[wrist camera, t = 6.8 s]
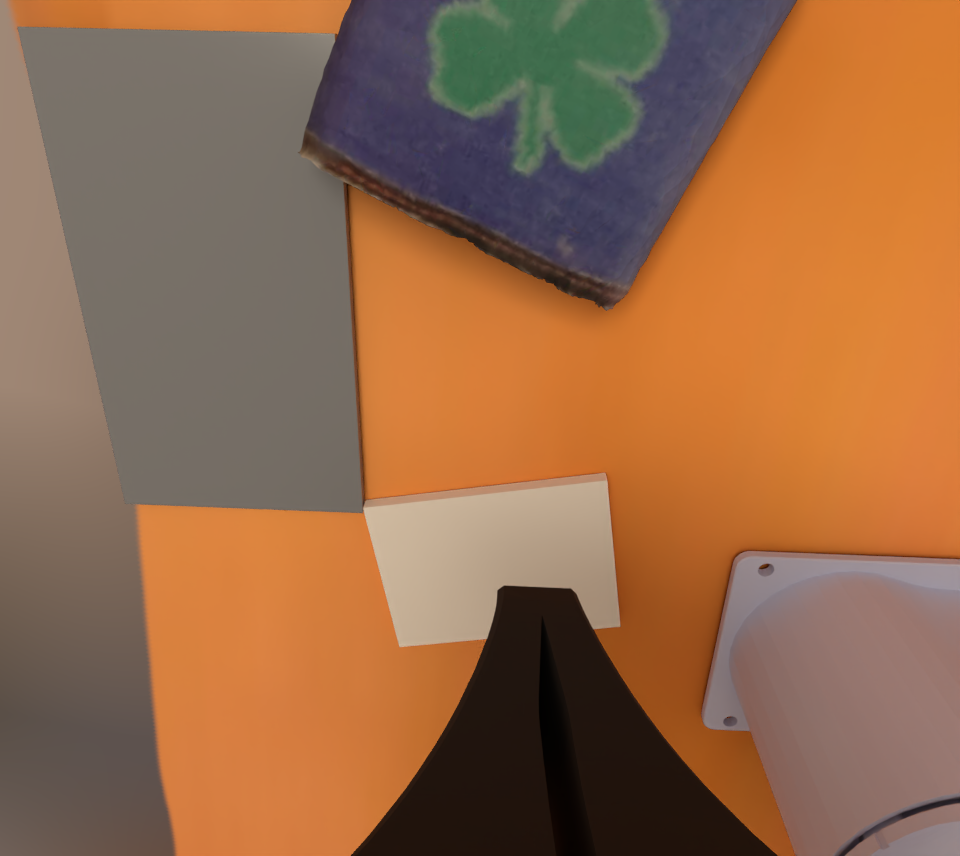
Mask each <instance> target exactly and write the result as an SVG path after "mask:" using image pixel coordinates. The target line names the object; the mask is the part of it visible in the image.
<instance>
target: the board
mask: <svg viewBox="0 0 960 856" xmlns="http://www.w3.org/2000/svg"><path fill="white" fill-rule="evenodd" d="M18 32H19V36H20V40H21V45H22V49H23V54H24V58H25V63H26V67H27V71H28V76H29V80H30V85H31V89H32V94H33V98H34V102H35V107H36V111H37V116H38V120H39V124H40V129H41V133H42V138H43V142H44V147H45V151H46V156H47V160H48V164H49V169H50V173H51V178H52V182H53V186H54V190H55V195H56V200H57V204H58V209H59V213H60V218H61V221H62V226H63V230H64V235H65V240H66V244H67V248H68V252H69V257H70V261H71V266H72V271H73V275H74V279H75V283H76V288H77V293H78V297H79V302H80V306H81V310H82V315H83V319H84V323H85V328H86V333H87V337H88V341H89V346H90V350H91V355H92V359H93V364H94V368H95V372H96V377H97V381H98V385H99V390H100V394H101V399H102V403H103V408H104V412H105V417H106V421H107V425H108V430H109V434H110V439H111V443H112V447H113V452H114V457H115V461H116V465H117V470H118V474H119V479H120V483H121V488H122V492H123V496H124V501H125V504H145V505H171V506H197V507H222V508H248V509H273V510H299V511H325V512H350V513H363V511H364V510H363V507H364V504H365V499H364V481H363V463H362V446H361V428H360V411H359V393H358V375H357V358H356V340H355V323H354V305H353V287H352V270H351V252H350V235H349V217H348V199H347V183H345V182H343V181H342V180H340V179H338V178H336V177H334V176H332V175H330V174H328V173H326V172H324V171H322V170H320V169H319V168H317V167H316V166H315V165H314V164H313V162H312V161H311V160H308V159H307V158H302V157H301V155H300V153H298V152H300V150H301V148H302V143H303V138H304V132H305V128H306V125H307V123H308V121H309V117H310V113H311V109H312V106H313V102H314V99H315V96H316V92H317V89H318V87H319V84H320V82H321V80H322V76H323V71H324V68H325V65H326V63H327V61H328V59H329V56H330V53H331V50H332V47H333V45H334V43H335V41H336V38H337V36H338V34H327V33H281V32H235V31H189V30H143V29H97V28H51V27H18Z"/></svg>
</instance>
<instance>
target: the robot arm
mask: <svg viewBox="0 0 960 856" xmlns="http://www.w3.org/2000/svg"><path fill="white" fill-rule="evenodd" d="M767 563H768V564H770V565H769V566H768V567H767V568H765V569H759V567H760V566H761V565H763V564H767ZM730 716H732V717H730ZM701 717H702V720H703V723H704V725H705V726H706V727H708V728H710V729H715V730H736V731H750V732H751V734H752V737H753V740H754V743H755V745H756V748H757V751H758V754H759V756H760V759H761V762H762V765H763V767H764V770H765V773H766V776H767V778H768V781H769V784H770V786H771V789H772V792H773V795H774V797H775V800H776V803H777V806H778V808H779V811H780V814H781V817H782V819H783V822H784V825H785V828H786V830H787V833H788V836H789V839H790V841H791V844H792V847H793V849H794V852H795V855H796V856H960V559H941V558H916V557H891V556H866V555H841V554H815V553H790V552H765V551H746V552H743V553H741V554H739V555H738V556H737V557H736V558H735V560H734V562H733V566H732V570H731V575H730V580H729V584H728V589H727V594H726V599H725V603H724V608H723V613H722V617H721V622H720V627H719V632H718V636H717V641H716V646H715V651H714V655H713V660H712V665H711V669H710V674H709V679H708V684H707V688H706V693H705V698H704V702H703V707H702V712H701ZM727 717H730V718H727ZM351 856H777V855H776V854H775V853H774V852H773V851H772V850H771V849H770V848H768V847H767V846H766V845H765V844H764V843H763V842H762V841H761V840H759V839H758V838H757V837H756V836H755V835H754V834H753V833H752V832H751V831H750V830H749V829H748V828H747V827H746V826H745V825H744V824H743V823H742V822H741V821H740V820H739V819H738V818H737V817H736V816H735V815H734V814H733V813H732V812H731V811H730V810H729V809H728V808H727V807H726V806H725V805H724V804H723V803H722V802H721V801H720V800H719V799H718V798H717V797H716V796H715V795H714V794H713V793H712V792H711V791H710V790H709V789H708V788H707V787H706V786H705V785H704V784H703V783H702V782H701V780H700V779H699V778H698V777H697V776H696V775H695V774H694V773H693V771H692V770H691V769H690V768H689V767H688V766H687V765H686V764H685V762H684V761H683V760H682V759H681V758H680V756H679V755H678V754H677V753H676V752H675V750H674V749H673V748H672V747H671V746H670V744H669V743H668V742H667V741H666V739H665V738H664V737H663V736H662V734H661V733H660V732H659V730H658V729H657V728H656V726H655V725H654V724H653V722H652V721H651V720H650V718H649V717H648V716H647V714H646V713H645V711H644V710H643V709H642V707H641V706H640V704H639V703H638V702H637V700H636V699H635V697H634V696H633V694H632V693H631V691H630V690H629V688H628V687H627V685H626V684H625V682H624V681H623V679H622V678H621V676H620V674H619V673H618V671H617V669H616V668H615V666H614V665H613V663H612V661H611V660H610V658H609V657H608V655H607V653H606V651H605V650H604V648H603V646H602V645H601V643H600V641H599V639H598V637H597V635H596V634H595V632H594V630H593V628H592V626H591V624H590V622H589V620H588V618H587V616H586V614H585V612H584V610H583V608H582V606H581V603H580V601H579V599H578V596H577V594H576V593H575V592H574V591H573V590H572V589H571V588H550V587H528V586H506V585H504V586H503V587H501V588H500V589H498V590H497V603H496V609H495V613H494V617H493V621H492V625H491V628H490V631H489V634H488V637H487V640H486V643H485V645H484V648H483V650H482V653H481V656H480V658H479V661H478V663H477V666H476V668H475V671H474V673H473V675H472V677H471V679H470V681H469V683H468V685H467V687H466V690H465V692H464V694H463V696H462V698H461V700H460V702H459V704H458V706H457V708H456V710H455V712H454V713H453V715H452V717H451V719H450V721H449V723H448V724H447V726H446V728H445V730H444V731H443V733H442V735H441V736H440V738H439V740H438V741H437V743H436V745H435V746H434V748H433V749H432V751H431V752H430V754H429V755H428V757H427V758H426V760H425V762H424V763H423V765H422V766H421V768H420V769H419V771H418V772H417V774H416V775H415V777H414V778H413V779H412V781H411V782H410V784H409V785H408V786H407V788H406V789H405V790H404V792H403V793H402V795H401V796H400V797H399V798H398V800H397V801H396V802H395V803H394V805H393V806H392V807H391V808H390V810H389V811H388V812H387V813H386V815H385V816H384V817H383V819H382V820H381V821H380V822H379V824H378V825H377V826H376V827H375V829H374V830H373V831H372V832H371V833H370V835H369V836H368V837H367V838H366V839H365V840H364V842H363V843H362V844H361V845H360V846H359V847H358V848H357V849H356V850H355V851H354V853H353V854H352V855H351Z"/></svg>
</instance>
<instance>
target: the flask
mask: <svg viewBox="0 0 960 856" xmlns="http://www.w3.org/2000/svg"><path fill="white" fill-rule="evenodd" d="M796 1H797V0H351V3H350V6H349V8H348V10H347V11H346V13H345V15H344V18H343V21H342V23H341V27H340V30H339V34H338V36H337V38H336V41H335V43H334V45H333V47H332V50H331V53H330V56H329V59H328V61H327V63H326V65H325V68H324V71H323V76H322V80H321V82H320V84H319V87H318V89H317V92H316V96H315V99H314V102H313V106H312V109H311V113H310V117H309V121H308V123H307V125H306V128H305V132H304V138H303V143H302V148H301V150H300V152H298V153H300V155H301V157H302V158H307V159H308V160H311V161H312V162H313V164H314V165H315V166H316V167H317V168H319V169H320V170H322V171H324V172H326V173H328V174H330V175H332V176H334V177H336V178H338V179H340V180H342V181H343V182H345V183H347V184H349V185H352V186H353V187H355V188H357V189H360V190H361V191H363V192H364V193H367V194H369V195H370V196H372V197H375V198H376V199H378V200H381V201H383V202H384V203H386V204H388V205H391V206H392V207H397V208H398V210H399V211H403V212H404V213H405V214H407V215H408V216H410V217H411V218H414V219H416V220H418V221H420V222H422V223H424V224H426V225H427V226H430V227H433V228H437V229H440V230H443V231H444V232H445V233H447V234H449V235H451V236H455V237H459V238H466V239H467V240H468V241H469V242H473V243H474V245H475V246H476V247H478V248H479V250H482V251H484V252H485V253H486V254H488V255H491V256H494V257H496V258H497V259H500V260H502V261H503V262H506V263H509V264H510V265H512V266H514V267H516V268H518V269H520V270H521V271H524V272H525V273H527V274H530V275H533V276H534V277H537V278H538V279H545V280H546V282H547V283H553V284H554V285H555V286H556V287H557V289H558V290H559V289H560V290H561V291H562V292H565V293H567V294H569V295H571V296H576V297H578V298H585V299H588V300H592V301H595V302H596V303H595V304H597V303H598V304H597V305H598V307H600V306H602V307H603V308H604V309H605V310H606V311H607V310H608V309H613V307H614V305H615V304H616V303H617V302H619V301H620V300H621V299H622V298H624V296H625V295H626V294H627V293H628V291H629V289H630V288H631V286H632V284H633V282H634V280H635V278H636V275H637V273H638V271H639V269H640V268H641V266H642V265H643V264H644V262H645V261H646V260H647V257H648V255H649V253H650V251H651V249H652V247H653V245H654V244H655V242H656V240H657V239H658V237H659V235H660V234H661V232H662V230H663V229H664V227H665V225H666V223H667V222H668V220H669V218H670V216H671V215H672V213H673V211H674V209H675V208H676V206H677V204H678V202H679V201H680V199H681V197H682V195H683V193H684V192H685V190H686V188H687V187H688V185H689V183H690V182H691V180H692V178H693V177H694V175H695V173H696V171H697V170H698V168H699V166H700V164H701V163H702V161H703V159H704V157H705V155H706V153H707V151H708V150H709V148H710V146H711V145H712V144H713V142H714V141H715V139H716V138H717V136H718V134H719V132H720V130H721V128H722V127H723V125H724V123H725V121H726V119H727V118H728V116H729V114H730V113H731V111H732V110H733V108H734V106H735V105H736V103H737V101H738V100H739V98H740V96H741V94H742V92H743V91H744V89H745V87H746V85H747V83H748V82H749V80H750V78H751V76H752V75H753V73H754V71H755V69H756V68H757V66H758V64H759V62H760V61H761V59H762V57H763V55H764V53H765V51H766V50H767V48H768V46H769V45H770V43H771V42H772V40H773V39H774V37H775V36H776V34H777V32H778V31H779V29H780V27H781V26H782V24H783V22H784V21H785V19H786V18H787V16H788V14H789V13H790V11H791V9H792V8H793V6H794V5H795V3H796Z"/></svg>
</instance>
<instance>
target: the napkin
mask: <svg viewBox="0 0 960 856" xmlns="http://www.w3.org/2000/svg"><path fill="white" fill-rule="evenodd" d="M363 510H364V514H365V517H366V521H367V525H368V529H369V533H370V537H371V540H372V544H373V548H374V552H375V556H376V559H377V563H378V567H379V571H380V575H381V578H382V582H383V586H384V590H385V594H386V598H387V601H388V605H389V609H390V613H391V617H392V620H393V624H394V628H395V632H396V636H397V639H398V643H399V647H406V646H417V645H427V644H438V643H449V642H460V641H471V640H482V639H487V637H488V634H489V631H490V628H491V625H492V621H493V617H494V613H495V609H496V603H497V590H498V589H500V588H501V587H503V586H504V585H506V586H528V587H550V588H571V589H572V590H573V591H574V592H575V593H576V594H577V596H578V599H579V601H580V603H581V606H582V608H583V610H584V612H585V614H586V616H587V618H588V620H589V622H590V624H591V626H592V628H593V629H600V628H611V627H621V626H620V615H619V604H618V593H617V582H616V571H615V560H614V549H613V538H612V527H611V516H610V505H609V494H608V483H607V477H606V473H598V474H589V475H581V476H572V477H563V478H554V479H546V480H537V481H528V482H519V483H510V484H502V485H493V486H484V487H475V488H467V489H458V490H449V491H440V492H432V493H423V494H414V495H405V496H397V497H388V498H379V499H370V500H366V501H365V504H364V507H363Z"/></svg>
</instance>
